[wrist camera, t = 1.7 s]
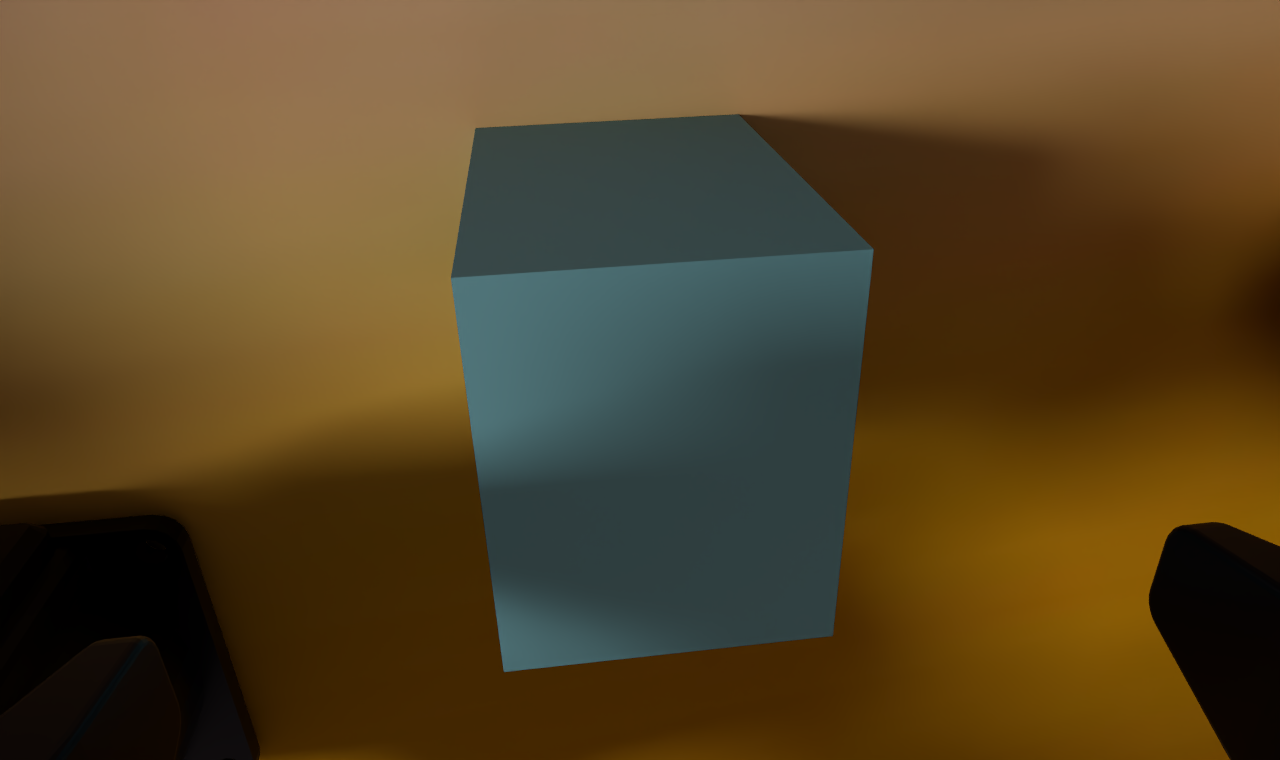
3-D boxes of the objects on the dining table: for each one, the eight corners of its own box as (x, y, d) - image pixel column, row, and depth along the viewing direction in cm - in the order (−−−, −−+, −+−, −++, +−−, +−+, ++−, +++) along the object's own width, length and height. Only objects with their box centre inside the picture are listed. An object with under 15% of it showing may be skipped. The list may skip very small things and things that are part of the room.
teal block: (730, 396, 16) (832, 635, 11) (507, 414, 16) (503, 671, 11) (738, 113, 14) (873, 248, 9) (475, 127, 13) (451, 277, 8)
